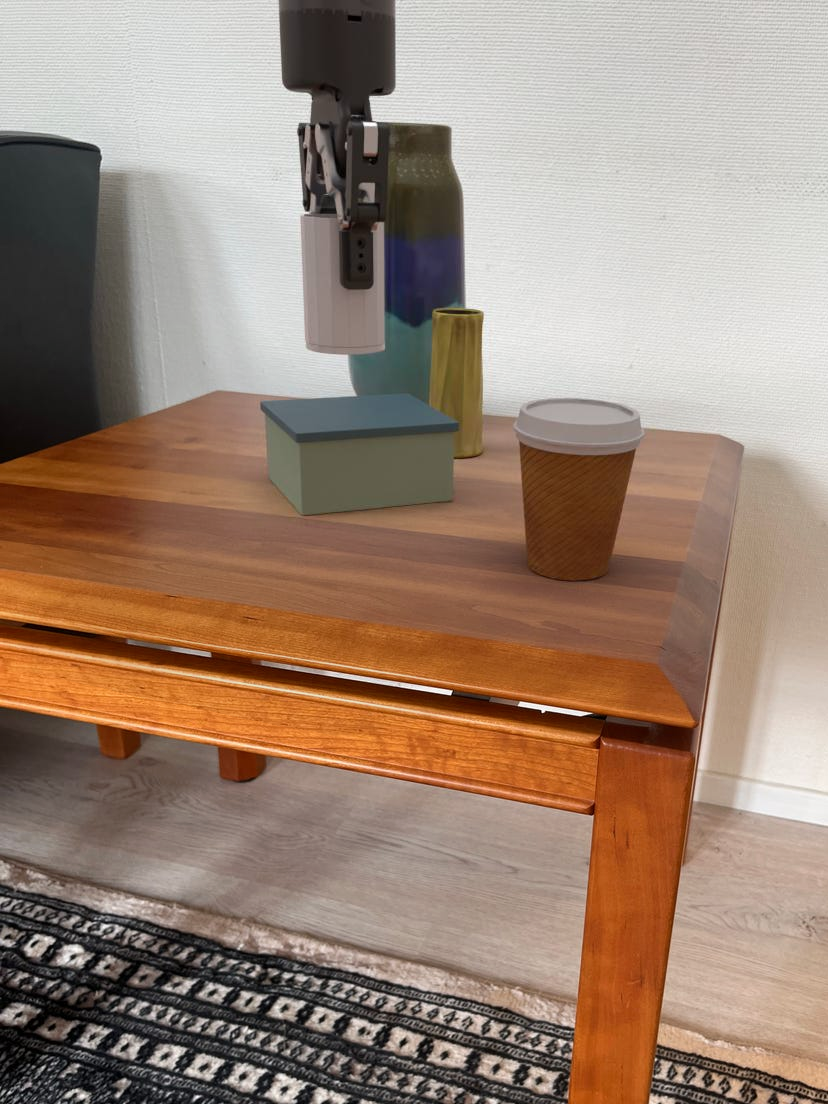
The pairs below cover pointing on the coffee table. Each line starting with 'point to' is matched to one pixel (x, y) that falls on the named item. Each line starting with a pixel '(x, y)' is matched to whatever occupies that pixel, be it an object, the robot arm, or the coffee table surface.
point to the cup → (340, 292)
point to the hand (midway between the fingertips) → (343, 282)
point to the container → (359, 452)
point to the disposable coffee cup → (574, 482)
